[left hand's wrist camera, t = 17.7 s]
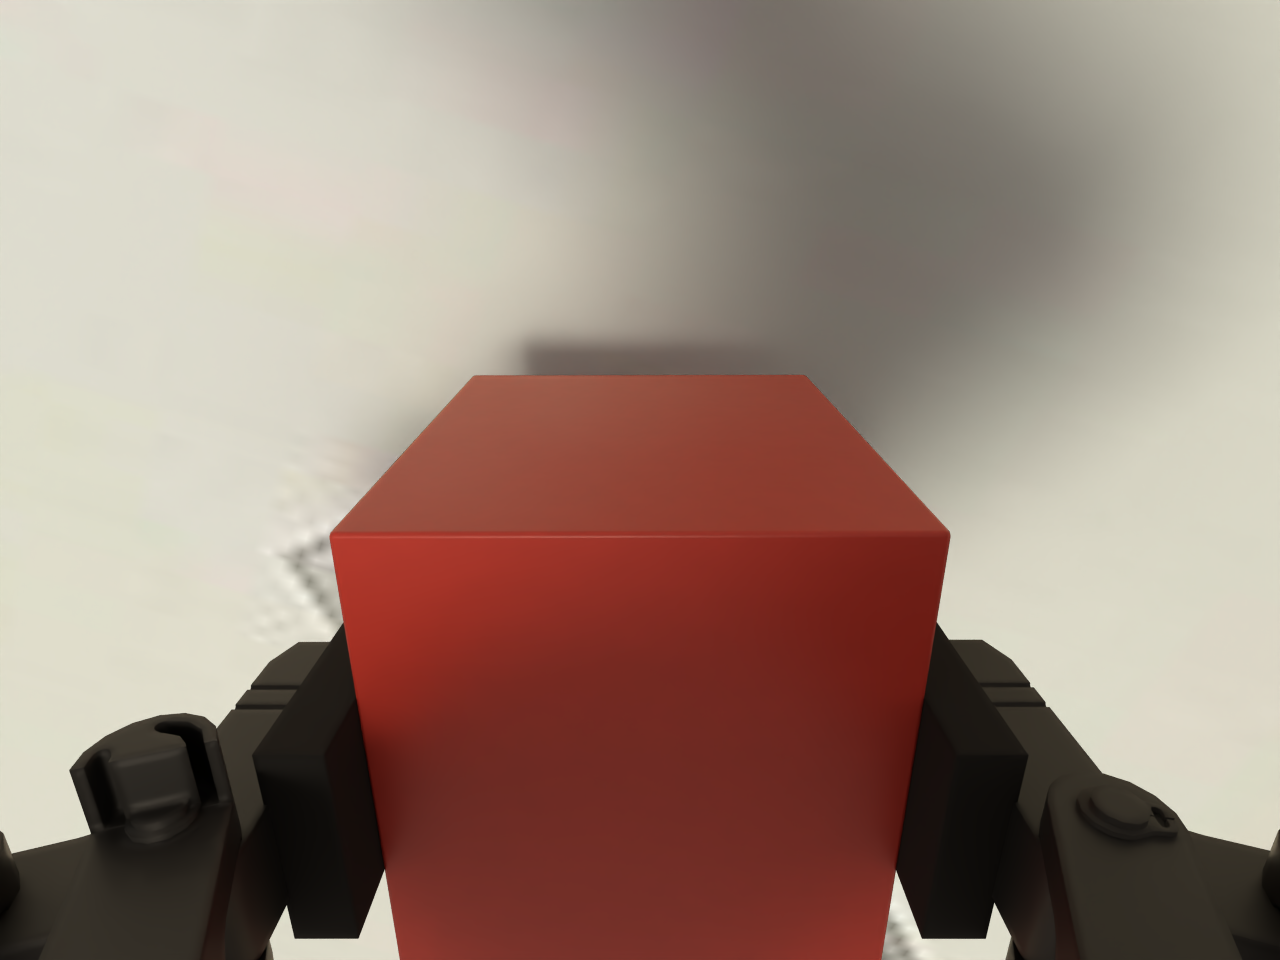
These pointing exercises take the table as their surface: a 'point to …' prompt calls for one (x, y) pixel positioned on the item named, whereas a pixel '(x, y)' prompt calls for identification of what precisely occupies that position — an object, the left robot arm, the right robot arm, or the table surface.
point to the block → (640, 670)
